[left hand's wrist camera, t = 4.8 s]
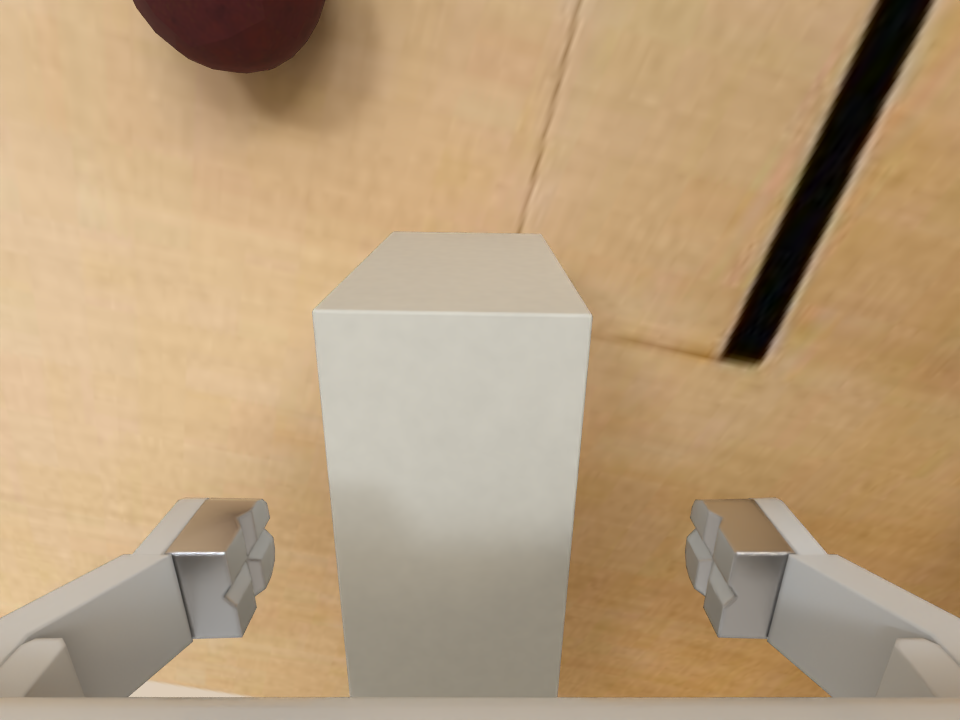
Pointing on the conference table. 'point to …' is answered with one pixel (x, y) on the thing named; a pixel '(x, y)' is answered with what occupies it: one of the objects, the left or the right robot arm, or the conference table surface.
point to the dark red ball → (234, 30)
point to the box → (453, 461)
